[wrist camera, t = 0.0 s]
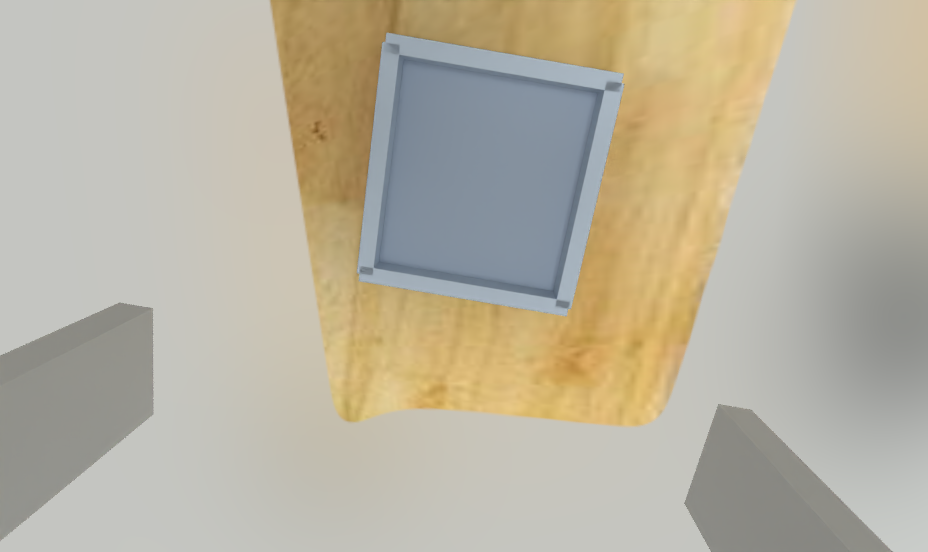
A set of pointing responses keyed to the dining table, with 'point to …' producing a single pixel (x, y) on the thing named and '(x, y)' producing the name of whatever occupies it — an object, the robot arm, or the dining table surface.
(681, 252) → the dining table surface
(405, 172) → the blue-grey square tray
